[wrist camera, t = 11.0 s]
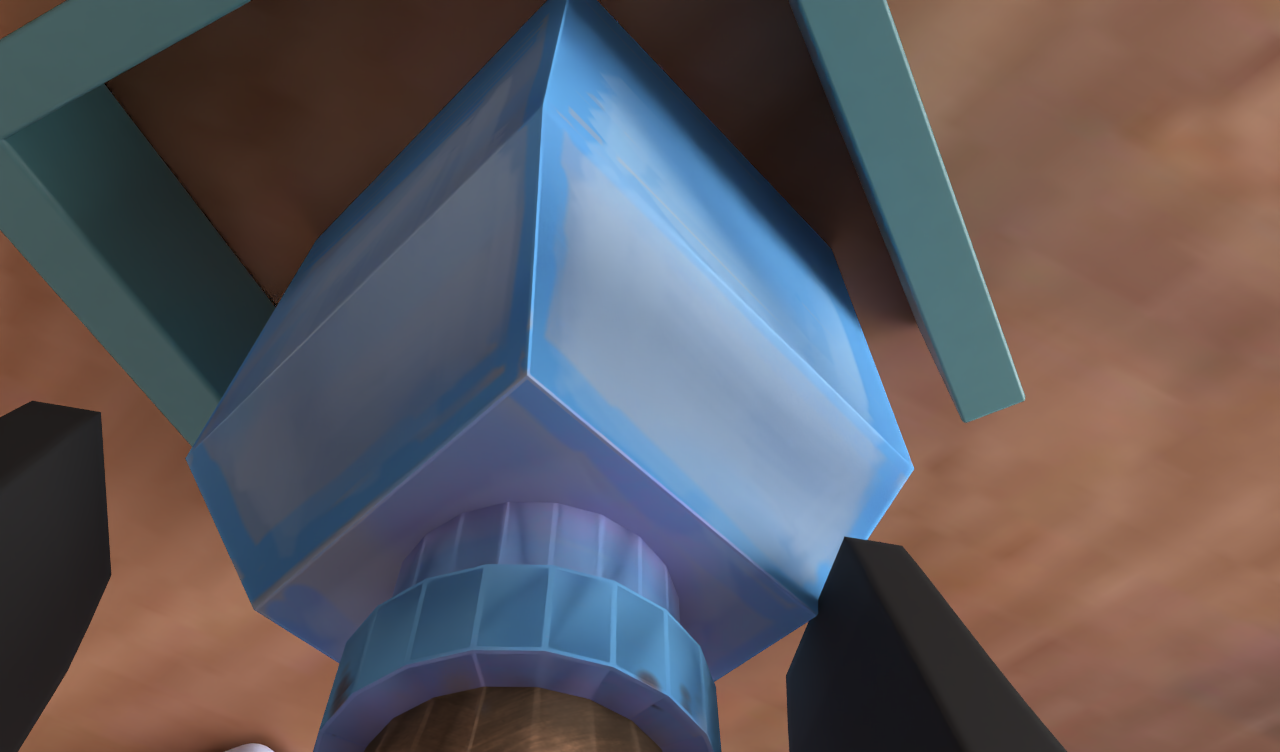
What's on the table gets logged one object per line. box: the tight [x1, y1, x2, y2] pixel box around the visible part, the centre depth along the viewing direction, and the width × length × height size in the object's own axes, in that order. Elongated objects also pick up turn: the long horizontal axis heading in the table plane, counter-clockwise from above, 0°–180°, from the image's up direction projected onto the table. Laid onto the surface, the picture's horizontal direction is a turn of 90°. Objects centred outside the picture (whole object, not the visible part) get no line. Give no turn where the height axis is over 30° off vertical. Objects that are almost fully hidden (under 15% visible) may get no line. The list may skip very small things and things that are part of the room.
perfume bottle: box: [185, 0, 914, 752], centre depth 13 cm, size 6×6×12 cm
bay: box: [0, 0, 1025, 447], centre depth 16 cm, size 12×11×3 cm
